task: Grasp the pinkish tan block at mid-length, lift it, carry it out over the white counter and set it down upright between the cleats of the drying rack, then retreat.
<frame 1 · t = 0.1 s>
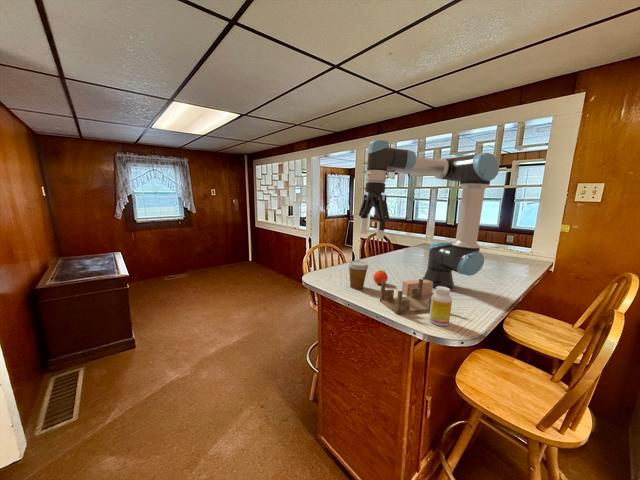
hand: (371, 235, 106), 28 cm above the worktop, fingers open, 13 cm apart
clementine: (380, 283, 135), on the worktop
disposable coffee cup: (356, 287, 128), on the worktop
pinkish tan block: (416, 293, 123), on the worktop
supplement bottle: (438, 322, 94), on the worktop
rack: (409, 305, 108), on the worktop
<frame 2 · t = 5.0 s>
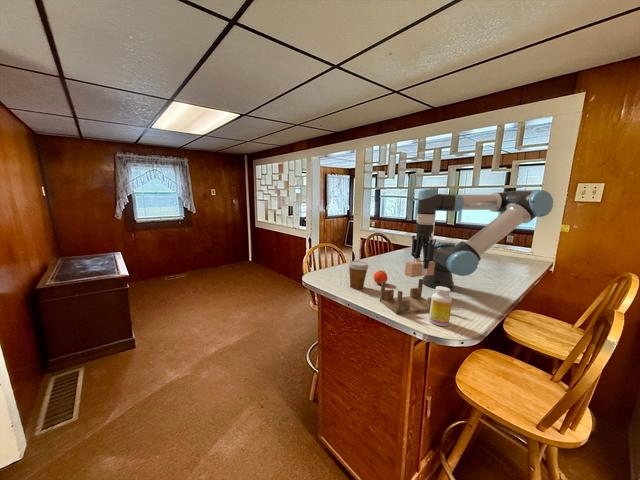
hand: (420, 273, 122), 10 cm above the worktop, fingers closed on pinkish tan block, 4 cm apart
pinkish tan block: (419, 274, 121), point 9 cm above the worktop, touching gripper
everything else where it was.
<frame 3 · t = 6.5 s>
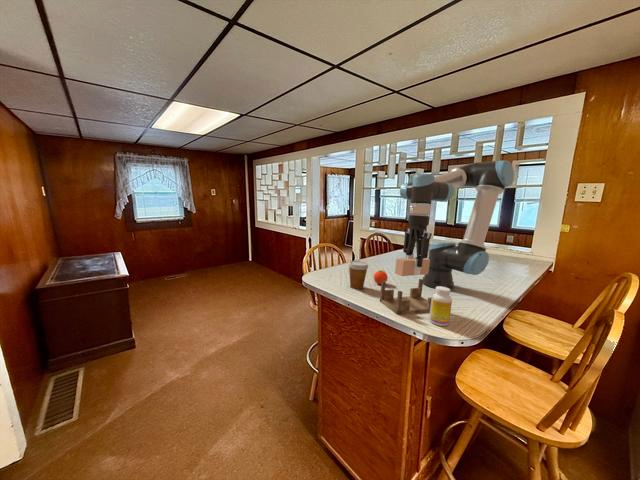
hand: (412, 272, 106), 14 cm above the worktop, fingers closed on pinkish tan block, 4 cm apart
pinkish tan block: (411, 273, 105), point 14 cm above the worktop, touching gripper
everything else where it was.
when the fingers open (2 cm above the worktop, at t = 8.3 s): pinkish tan block stays where it is, resting on rack.
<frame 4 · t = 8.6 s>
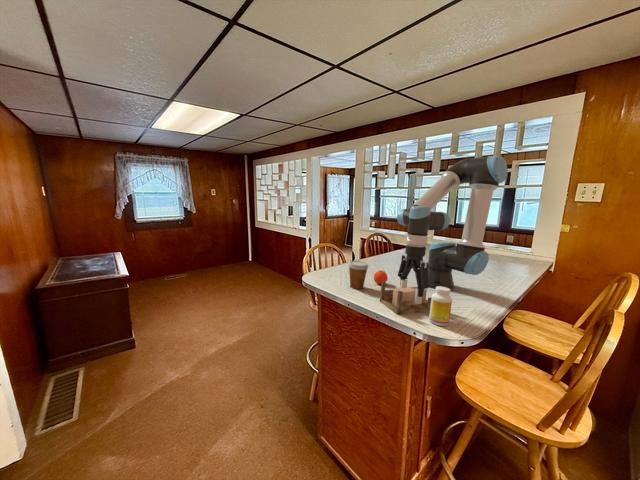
hand: (409, 298, 107), 3 cm above the worktop, fingers open, 9 cm apart
pinkish tan block: (408, 303, 107), point 1 cm above the worktop, touching rack
everything else where it was.
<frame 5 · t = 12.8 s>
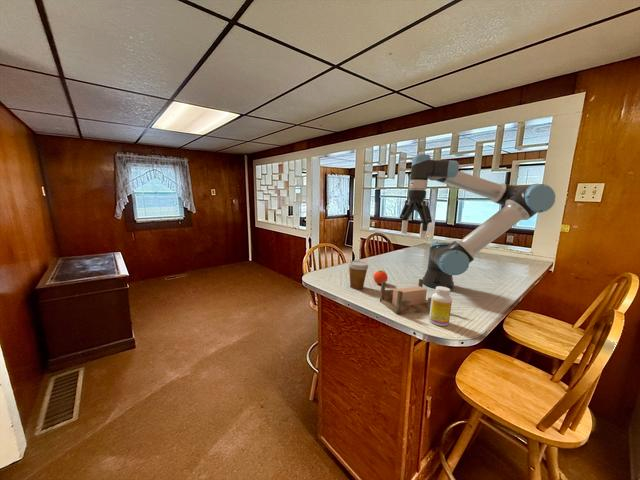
hand: (412, 235, 123), 27 cm above the worktop, fingers open, 13 cm apart
nothing on the worktop moved.
at the end: pinkish tan block 0.4 cm off-centre on the rack, point 1.2 cm above the rack's base; pinkish tan block tilted 0°; the gripper is holding nothing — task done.
